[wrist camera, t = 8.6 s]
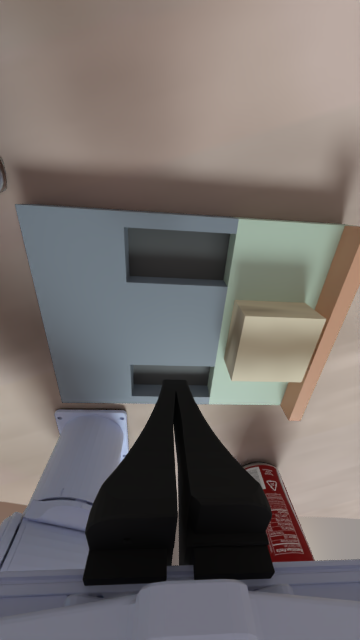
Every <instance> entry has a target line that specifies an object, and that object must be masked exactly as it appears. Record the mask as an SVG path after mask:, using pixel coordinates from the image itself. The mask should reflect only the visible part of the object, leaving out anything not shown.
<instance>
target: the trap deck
mask: <svg viewBox="0 0 360 640" xmlns="http://www.w3.org/2000/svg"><path fill="white" fill-rule="evenodd" d="M15 207H16V211H17V215H18V219H19V223H20V228H21V232H22V236H23V240H24V244H25V249H26V253H27V257H28V261H29V265H30V270H31V274H32V278H33V282H34V286H35V291H36V295H37V299H38V303H39V307H40V312H41V316H42V320H43V324H44V328H45V333H46V337H47V341H48V345H49V349H50V354H51V358H52V362H53V366H54V370H55V375H56V379H57V383H58V387H59V391H60V396H61V400H62V403H143V404H156V402H157V400H158V397H159V394H160V391H161V388H162V382H163V380H165V379H169V380H186V381H187V382H188V386H189V388H190V391H191V393H192V396H193V398H194V400H195V402H196V404H233V405H281V407H282V409H283V411H284V413H285V415H286V416H287V418H288V420H289V421H300V420H301V418H302V416H303V414H304V411H305V409H306V407H307V404H308V402H309V400H310V398H311V395H312V393H313V391H314V388H315V386H316V384H317V381H318V379H319V377H320V375H321V372H322V370H323V368H324V365H325V363H326V361H327V358H328V356H329V354H330V352H331V349H332V347H333V345H334V342H335V340H336V338H337V335H338V333H339V331H340V329H341V326H342V324H343V322H344V319H345V317H346V315H347V312H348V310H349V308H350V306H351V303H352V301H353V299H354V296H355V294H356V292H357V289H358V287H359V285H360V227H359V226H352V225H345V224H333V223H318V222H303V221H287V220H272V219H256V218H241V217H226V216H210V215H195V214H179V213H164V212H148V211H133V210H118V209H102V208H87V207H71V206H56V205H41V204H15ZM235 300H251V301H275V302H299V303H306V304H307V305H309V306H310V307H311V308H312V309H314V310H315V311H316V312H318V313H319V314H320V315H322V316H323V317H324V318H326V322H325V324H324V327H323V329H322V332H321V334H320V337H319V339H318V342H317V344H316V347H315V349H314V352H313V354H312V357H311V360H310V362H309V365H308V367H307V370H306V372H305V375H304V377H303V380H302V382H251V381H231V378H230V375H229V373H228V370H227V367H226V364H225V361H224V355H225V350H226V344H227V339H228V333H229V328H230V322H231V317H232V311H233V306H234V301H235Z"/></svg>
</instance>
